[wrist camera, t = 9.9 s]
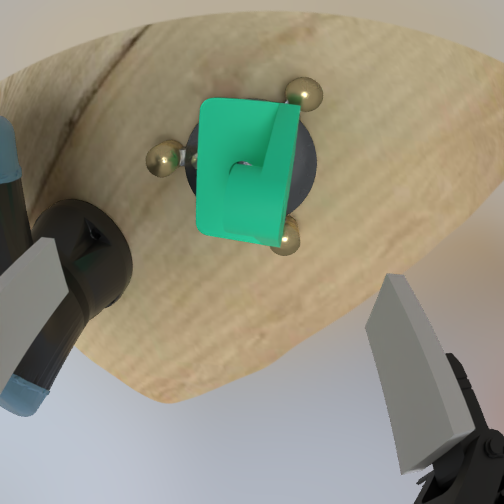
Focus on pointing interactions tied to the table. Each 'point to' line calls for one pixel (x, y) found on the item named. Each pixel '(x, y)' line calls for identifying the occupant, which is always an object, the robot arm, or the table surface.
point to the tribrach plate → (304, 168)
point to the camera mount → (245, 168)
